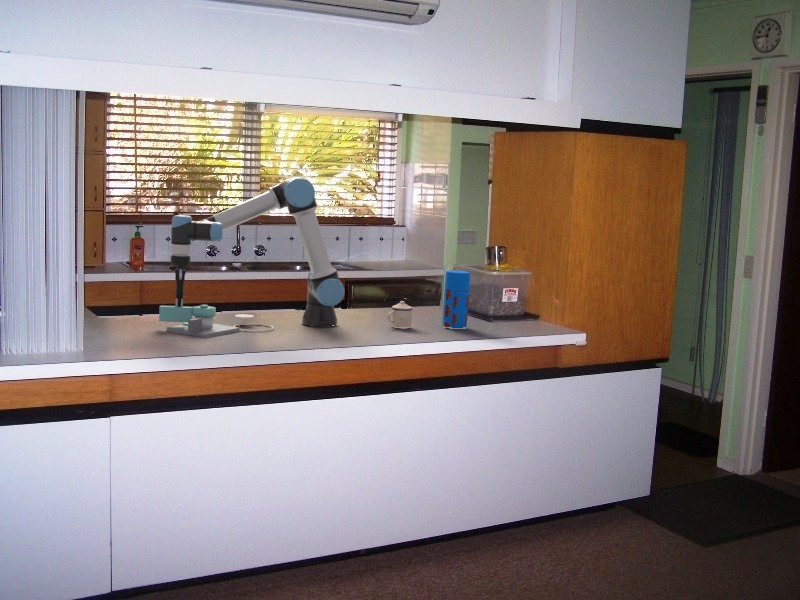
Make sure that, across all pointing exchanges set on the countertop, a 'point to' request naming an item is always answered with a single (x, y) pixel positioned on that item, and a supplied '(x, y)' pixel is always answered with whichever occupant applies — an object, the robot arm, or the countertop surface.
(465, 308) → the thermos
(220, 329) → the post board
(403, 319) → the teacup with lid
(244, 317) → the hand towel holder
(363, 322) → the countertop surface
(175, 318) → the domed saucepan
